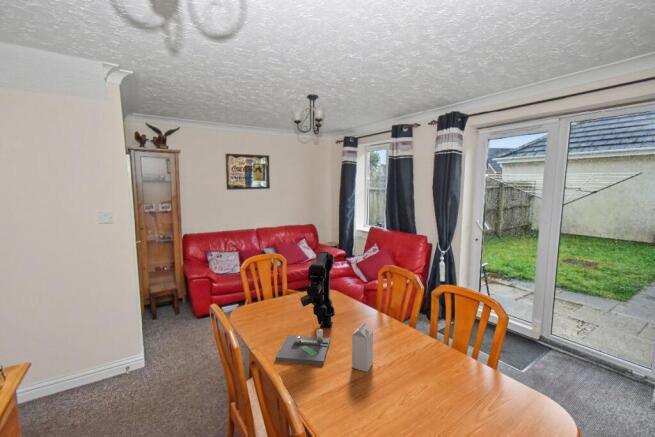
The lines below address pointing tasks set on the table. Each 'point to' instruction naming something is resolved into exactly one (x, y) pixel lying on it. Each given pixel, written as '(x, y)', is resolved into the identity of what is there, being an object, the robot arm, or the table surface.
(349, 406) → the table surface
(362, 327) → the milk carton
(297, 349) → the board
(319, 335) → the lever
